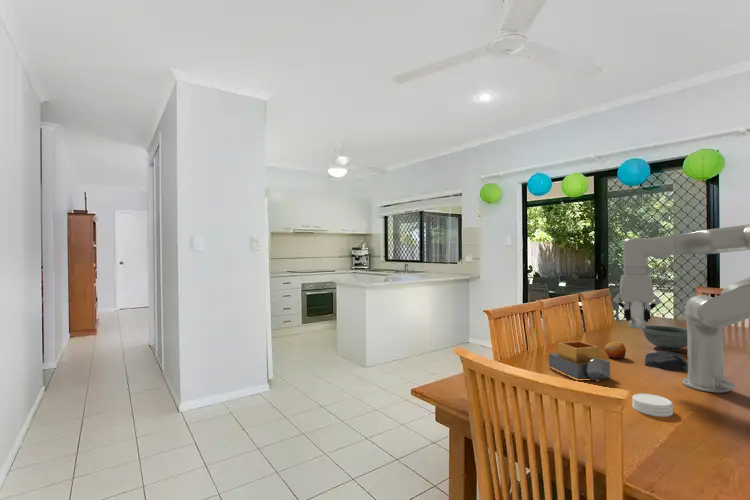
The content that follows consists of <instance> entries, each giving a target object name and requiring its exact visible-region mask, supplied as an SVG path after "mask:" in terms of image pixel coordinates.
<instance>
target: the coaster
mask: <svg viewBox="0 0 750 500" xmlns="http://www.w3.org/2000/svg"><path fill="white" fill-rule="evenodd" d="M631 397H632V401H631V402H632V408H633V409H634V410H635V411H637V412H638V413H641V414H644V415H648V416H652V417H659V418H668V417H671V416H673V414H674V411H673V410H674V407H673V406H674V404H673V402H672V401H671V400H670V399H668V398H666V397H663V396H660V395H656V394H651V393H637V394H636V393H635V394H634V395H632V396H631Z"/></svg>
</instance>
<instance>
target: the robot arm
mask: <svg viewBox="0 0 750 500" xmlns="http://www.w3.org/2000/svg"><path fill="white" fill-rule="evenodd" d="M622 242H623V243H622V251H623V257H622V259H623V260H622V261H623V274H621V276H620V281H619V292H618V294H616V296H615V297H614V298H613V299H612V301H613V302H614V303H616V304H617V305H619V306H620V307H621V308H622V309H623V317H624V319H625V320H626V321H627V322H629V310H628V305H629V303H630V302H632V301H642V302H644V303H645V317H646V323H649V320H651V311H652V310H653V309H654V308H655V307H657V306H658V305H660V304H661V303H662V300H661V299H660V298H659V297H658V296H657V295H656V294H655V293H654V289H653V288H654V286H653V280H652V277H651V275H649V273H653V272H654V268H651V267H649V257H651V258H657V259H658V258H661V259H664V258H665V259H666V258H668V257H670V256H680V255H681V256H682V255H692V254H693V255H694V254H695V255H711V254H713V255H715V254H723V253H730V252H731V253H732V252H744V251H750V224H742V225H733V226H727V227H718V228H710V229H702V230H696V231H693V232H687V233H680V234H671V235H665V236H663V235H662V236H655V237H649V238H644V237H631V238H625V239H624V240H623V241H622ZM621 301H622V302H621ZM623 302H624V303H623ZM684 306H685V307H684V314H685V315H684V317H685V323H686V328H687V347H686V348H687V364H688V371H687V377H684V378H682V379H681V381H682V384H683V385H685V386H687V387H688V388H691V389H694V390H698V391H702V392H710V393H717V394H718V393H722V394H723V393H728V392H730V391H734V390H735V388H736V386H737V385H736V383H733V382H729V381H728V377H727V376H725V374H724V371H725V370H724V366H725V365H724V332H723V328H726V327H728V326H731V325H733V324H736V323H739V322H742V321H745V320H749V319H750V276H747V277H746V278H744V279H740V280H738V281H735V282H732V283H730V284H727V285H726V286H725V287H724V288H723V289H722V290H721V293H720V295H717V296H714V297H713V296H710V295H705V294H699V295H695V296H692V297H690V298H689V299H688V300H687V302H686V303H685V305H684Z"/></svg>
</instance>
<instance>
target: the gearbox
mask: <svg viewBox="0 0 750 500" xmlns="http://www.w3.org/2000/svg"><path fill="white" fill-rule="evenodd" d="M557 351H558V352H554V353H553V352H552V353H551V352H550V353H548V367H549V366H550V367H553V368H555V369H557V370H559V371H561V372H563V373H565V374H567V375H570V376H572V377H575V378H577V379H592V380H591V381H594V380H601V381H602V380H604V378H605V379H610V378H611V362H610V361H608V360H605V359H603V358H600V349H599V346H597V345H593V344H590V343H587V342H583V341H582V340H581V341H580V340H579V341H566V342H565V341H564V342H558V343H557Z"/></svg>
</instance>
